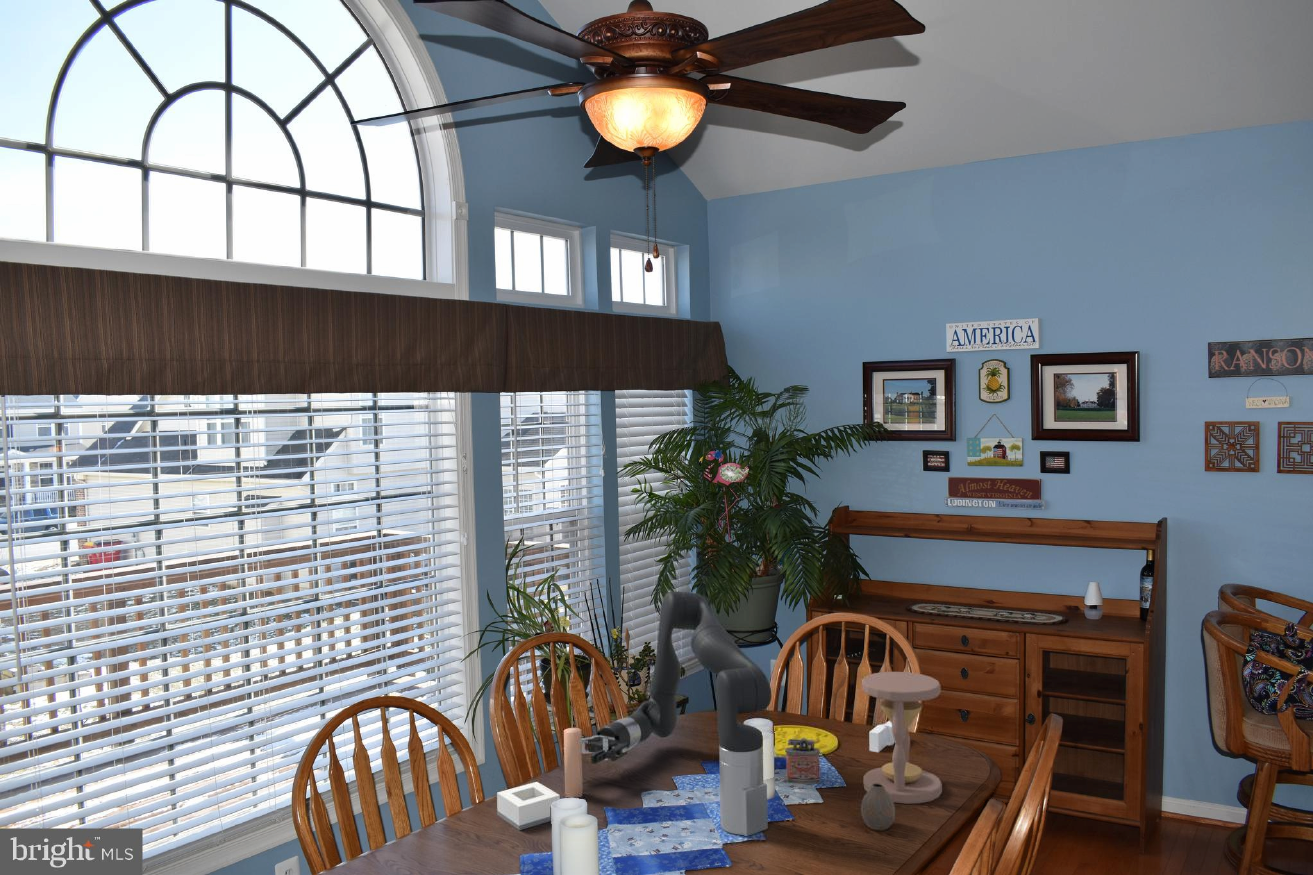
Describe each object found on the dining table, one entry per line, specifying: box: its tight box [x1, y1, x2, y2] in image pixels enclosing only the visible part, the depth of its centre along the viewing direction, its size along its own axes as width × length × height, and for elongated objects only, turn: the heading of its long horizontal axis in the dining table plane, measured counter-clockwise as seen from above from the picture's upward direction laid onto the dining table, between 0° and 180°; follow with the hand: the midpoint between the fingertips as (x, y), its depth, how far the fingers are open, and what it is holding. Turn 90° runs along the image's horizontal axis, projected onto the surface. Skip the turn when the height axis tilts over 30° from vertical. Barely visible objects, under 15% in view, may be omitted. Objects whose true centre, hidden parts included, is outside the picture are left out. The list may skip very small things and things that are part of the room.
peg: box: [563, 727, 584, 798], centre depth 221 cm, size 4×4×15 cm
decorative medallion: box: [773, 724, 839, 758], centre depth 254 cm, size 24×24×2 cm
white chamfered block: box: [868, 720, 895, 753], centre depth 250 cm, size 15×11×6 cm
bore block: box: [496, 781, 561, 831], centre depth 209 cm, size 10×10×5 cm
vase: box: [860, 783, 896, 831], centre depth 201 cm, size 7×7×9 cm
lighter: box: [785, 738, 821, 785], centre depth 227 cm, size 8×3×10 cm, turn 84°
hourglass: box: [861, 671, 943, 805], centre depth 221 cm, size 18×18×25 cm
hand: (578, 756), depth 222 cm, fingers open, 8 cm apart
